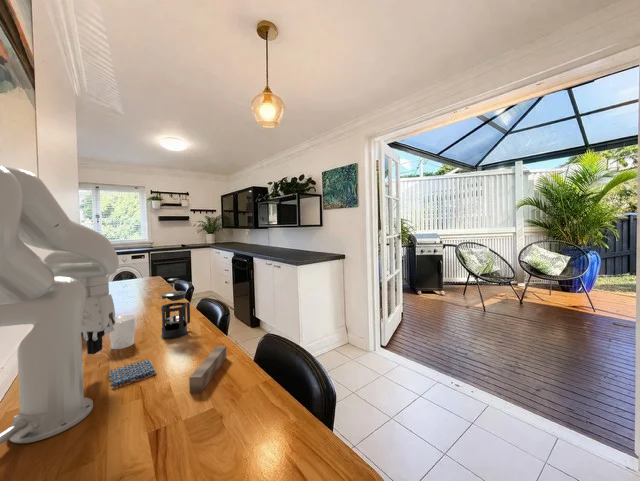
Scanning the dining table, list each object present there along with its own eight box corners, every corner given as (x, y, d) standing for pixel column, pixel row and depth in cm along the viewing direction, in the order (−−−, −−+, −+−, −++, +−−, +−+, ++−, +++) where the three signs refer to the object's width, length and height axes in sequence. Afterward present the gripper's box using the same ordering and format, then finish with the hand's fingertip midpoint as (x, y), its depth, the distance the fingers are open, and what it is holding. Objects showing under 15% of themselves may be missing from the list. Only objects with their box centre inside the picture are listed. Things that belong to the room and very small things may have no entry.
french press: (168, 341, 96) (167, 281, 95) (154, 337, 100) (152, 279, 100) (196, 331, 106) (195, 276, 106) (182, 327, 111) (180, 275, 110)
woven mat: (150, 363, 81) (149, 357, 81) (157, 376, 73) (157, 369, 73) (107, 376, 74) (107, 369, 74) (111, 392, 66) (111, 384, 66)
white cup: (121, 351, 88) (120, 323, 88) (103, 349, 90) (102, 321, 90) (141, 341, 96) (140, 315, 96) (124, 340, 98) (123, 314, 97)
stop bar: (201, 392, 65) (201, 377, 65) (189, 392, 65) (189, 377, 65) (226, 358, 83) (226, 345, 83) (217, 358, 83) (216, 346, 83)
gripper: (52, 294, 69) (56, 358, 70) (107, 294, 69) (110, 358, 70) (78, 287, 76) (81, 345, 78) (127, 287, 77) (130, 345, 78)
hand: (95, 351), depth 74 cm, fingers closed
